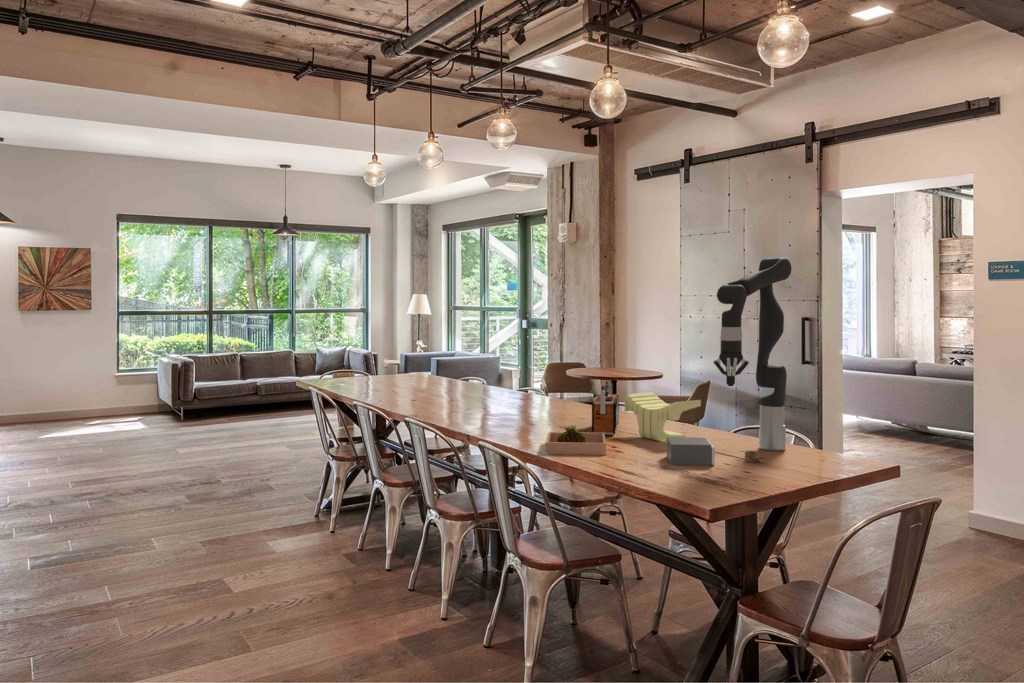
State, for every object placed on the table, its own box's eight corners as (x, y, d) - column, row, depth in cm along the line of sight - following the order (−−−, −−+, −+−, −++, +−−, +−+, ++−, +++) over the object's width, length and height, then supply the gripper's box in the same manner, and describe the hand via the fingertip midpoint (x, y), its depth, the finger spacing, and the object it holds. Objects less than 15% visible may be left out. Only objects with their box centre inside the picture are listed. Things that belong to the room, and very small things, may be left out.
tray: (708, 456, 280) (708, 440, 280) (714, 464, 266) (714, 447, 266) (670, 455, 282) (670, 439, 281) (674, 464, 268) (674, 446, 267)
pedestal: (757, 460, 275) (757, 450, 275) (760, 463, 270) (760, 453, 270) (743, 459, 276) (743, 450, 275) (746, 462, 271) (746, 453, 270)
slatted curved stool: (624, 434, 328) (624, 394, 327) (652, 431, 336) (653, 392, 335) (670, 446, 302) (671, 402, 301) (700, 442, 310) (700, 399, 309)
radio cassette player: (614, 437, 323) (615, 391, 322) (590, 436, 325) (591, 390, 324) (618, 426, 352) (618, 383, 351) (596, 425, 354) (596, 383, 353)
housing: (705, 457, 281) (705, 437, 280) (711, 465, 266) (711, 445, 266) (666, 456, 282) (666, 437, 281) (670, 464, 268) (671, 444, 267)
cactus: (556, 444, 308) (556, 420, 308) (594, 446, 303) (594, 422, 302) (544, 452, 292) (544, 427, 291) (584, 455, 287) (584, 429, 286)
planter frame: (604, 443, 308) (604, 432, 308) (606, 454, 285) (606, 443, 285) (548, 442, 310) (548, 432, 310) (545, 453, 287) (545, 442, 287)
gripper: (714, 339, 273) (714, 387, 274) (751, 339, 272) (751, 387, 273) (711, 338, 280) (710, 384, 281) (747, 338, 279) (746, 385, 280)
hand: (730, 386), depth 277 cm, fingers closed
